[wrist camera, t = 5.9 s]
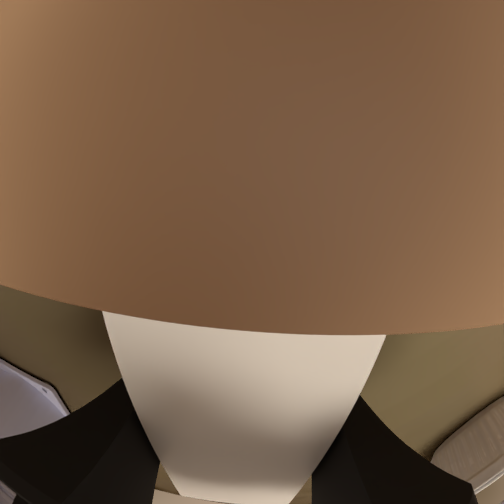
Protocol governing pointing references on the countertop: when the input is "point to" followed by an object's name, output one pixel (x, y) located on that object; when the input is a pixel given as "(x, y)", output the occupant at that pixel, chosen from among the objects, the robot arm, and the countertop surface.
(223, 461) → the banded cream case
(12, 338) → the countertop surface
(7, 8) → the socket block
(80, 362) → the countertop surface
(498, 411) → the ramekin
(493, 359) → the countertop surface
